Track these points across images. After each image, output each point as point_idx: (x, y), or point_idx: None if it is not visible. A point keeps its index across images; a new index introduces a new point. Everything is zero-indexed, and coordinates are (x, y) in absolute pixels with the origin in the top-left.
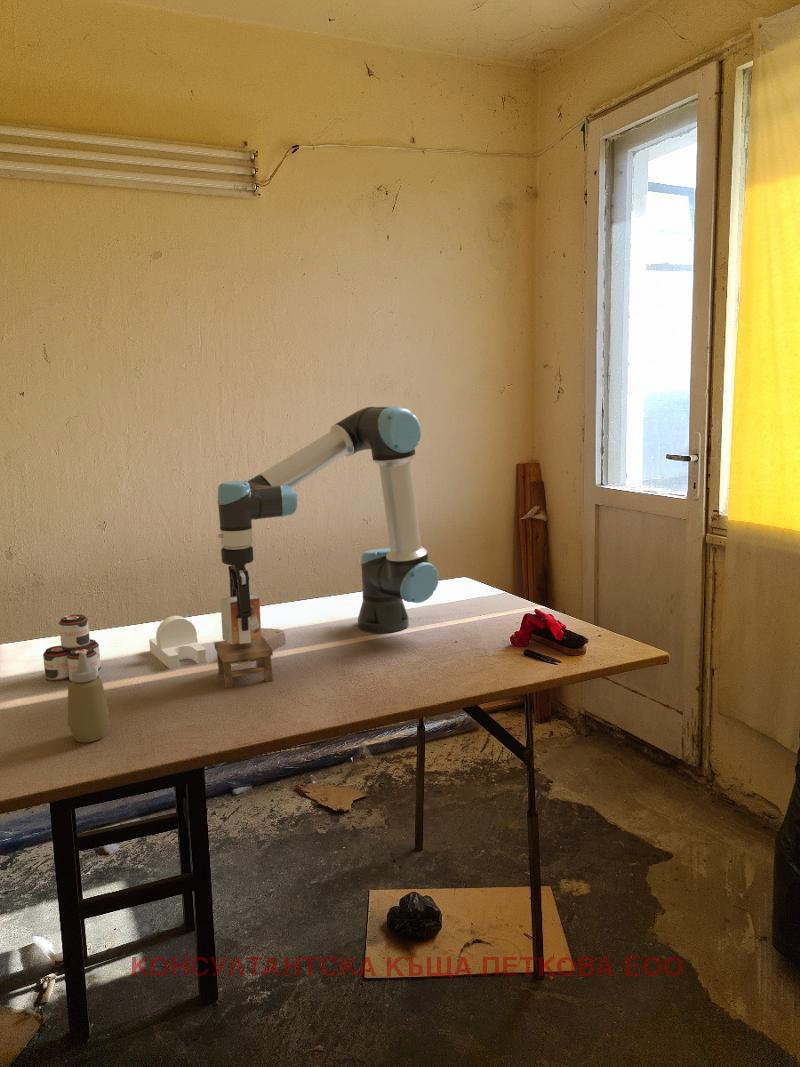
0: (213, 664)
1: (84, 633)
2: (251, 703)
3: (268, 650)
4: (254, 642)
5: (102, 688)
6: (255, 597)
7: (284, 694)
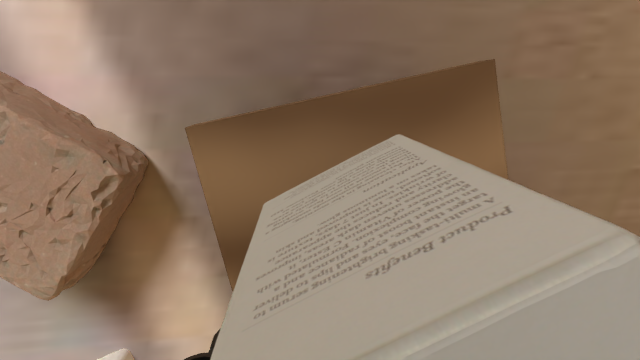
0: (165, 320)
1: None
2: (634, 156)
3: (496, 85)
4: (317, 174)
5: None
6: (619, 323)
7: (591, 27)
